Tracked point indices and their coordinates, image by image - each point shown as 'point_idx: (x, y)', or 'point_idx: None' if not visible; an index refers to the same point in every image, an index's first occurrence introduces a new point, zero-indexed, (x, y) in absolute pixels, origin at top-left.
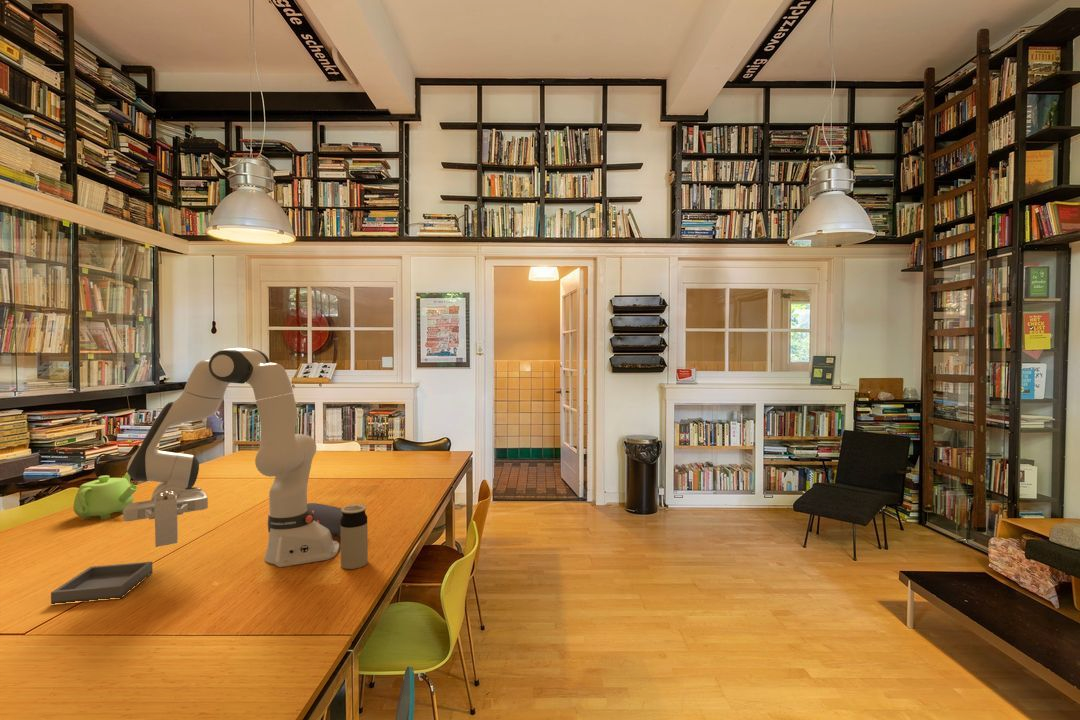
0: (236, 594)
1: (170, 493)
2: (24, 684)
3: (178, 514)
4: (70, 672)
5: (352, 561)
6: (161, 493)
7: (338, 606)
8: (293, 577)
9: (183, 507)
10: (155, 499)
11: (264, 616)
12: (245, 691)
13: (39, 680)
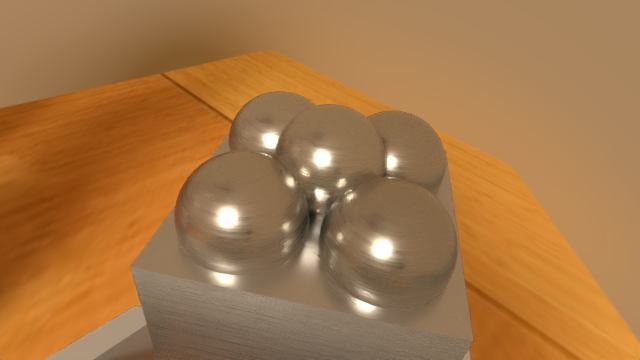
0: None
1: (285, 101)
2: (523, 203)
3: None
4: (467, 192)
5: None
6: (389, 180)
7: (104, 109)
8: (14, 235)
9: (138, 308)
10: (446, 201)
11: (195, 148)
12: (292, 75)
13: (505, 200)
